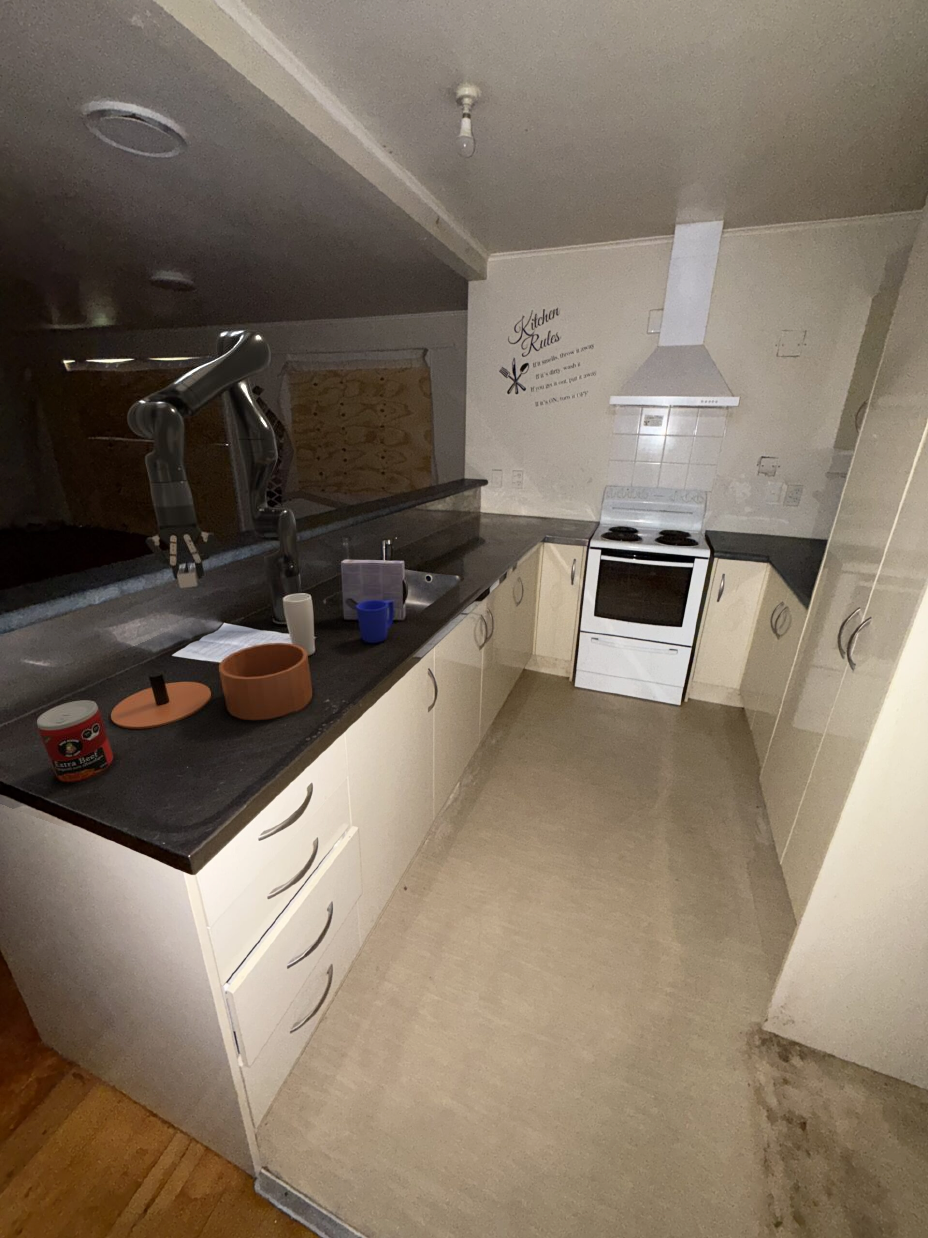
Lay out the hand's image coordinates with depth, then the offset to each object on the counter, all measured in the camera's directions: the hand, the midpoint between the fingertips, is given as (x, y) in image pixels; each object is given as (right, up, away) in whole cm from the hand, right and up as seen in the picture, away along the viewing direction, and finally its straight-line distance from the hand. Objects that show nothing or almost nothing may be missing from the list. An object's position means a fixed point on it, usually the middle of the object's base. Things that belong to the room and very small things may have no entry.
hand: (189, 578), depth 111 cm
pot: (+22, -26, -9) cm, 36 cm away
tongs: (0, 0, 0) cm, 0 cm away
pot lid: (+1, -27, -12) cm, 29 cm away
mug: (+40, -14, +22) cm, 48 cm away
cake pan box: (+37, -9, +36) cm, 52 cm away
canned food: (0, -35, -30) cm, 46 cm away
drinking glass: (+22, -18, +12) cm, 31 cm away
